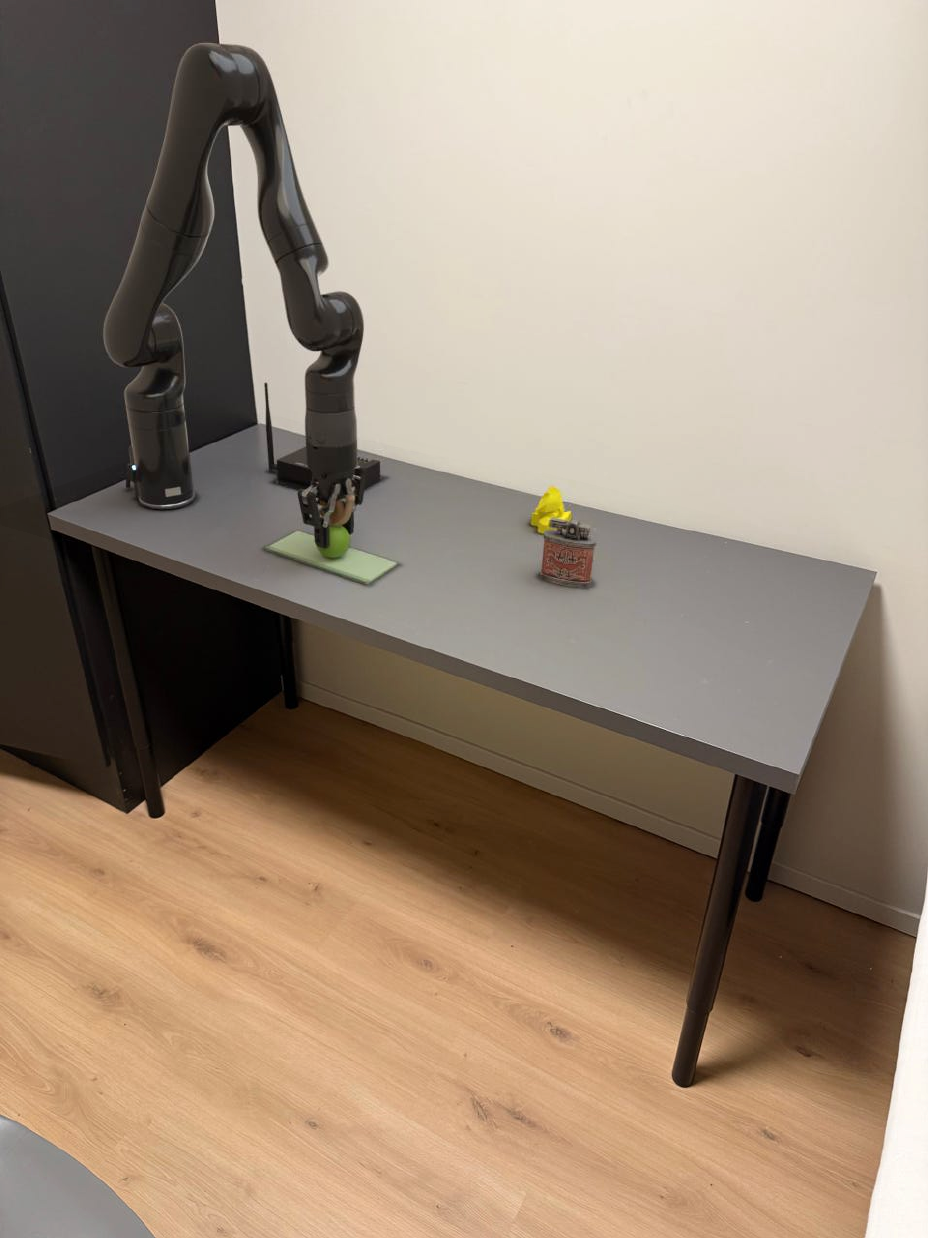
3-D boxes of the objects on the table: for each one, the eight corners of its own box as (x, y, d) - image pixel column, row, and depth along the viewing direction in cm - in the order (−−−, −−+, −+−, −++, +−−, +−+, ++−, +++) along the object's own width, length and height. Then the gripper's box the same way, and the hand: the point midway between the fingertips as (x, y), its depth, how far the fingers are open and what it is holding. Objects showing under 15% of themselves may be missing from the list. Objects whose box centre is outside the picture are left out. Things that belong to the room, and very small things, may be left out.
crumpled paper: (574, 520, 162) (578, 478, 158) (558, 537, 156) (562, 494, 152) (543, 512, 164) (547, 471, 160) (526, 529, 158) (529, 487, 154)
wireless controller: (385, 477, 175) (385, 388, 166) (342, 502, 164) (339, 408, 156) (300, 455, 183) (296, 369, 174) (254, 477, 172) (247, 387, 164)
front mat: (265, 550, 147) (265, 547, 147) (297, 532, 153) (297, 529, 153) (366, 584, 138) (366, 581, 138) (397, 565, 144) (397, 562, 144)
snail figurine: (350, 566, 142) (348, 494, 136) (311, 561, 143) (307, 489, 137) (361, 551, 147) (359, 481, 141) (322, 546, 148) (319, 476, 142)
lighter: (593, 580, 143) (600, 521, 138) (588, 589, 140) (595, 530, 135) (542, 570, 145) (548, 512, 140) (537, 579, 142) (542, 520, 137)
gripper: (341, 418, 142) (343, 518, 150) (279, 443, 131) (285, 550, 140) (380, 428, 139) (381, 530, 147) (320, 455, 128) (325, 563, 137)
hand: (334, 539), depth 143 cm, fingers closed on snail figurine, 5 cm apart
